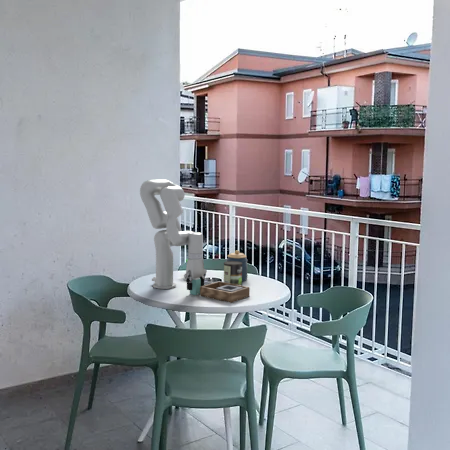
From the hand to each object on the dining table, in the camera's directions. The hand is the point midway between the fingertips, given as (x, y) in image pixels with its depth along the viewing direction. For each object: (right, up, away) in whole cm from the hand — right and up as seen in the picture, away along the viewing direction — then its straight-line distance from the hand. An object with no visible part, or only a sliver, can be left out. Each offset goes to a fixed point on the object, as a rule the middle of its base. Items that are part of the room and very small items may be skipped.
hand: (195, 288), depth 270 cm
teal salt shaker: (0, -3, +1) cm, 3 cm away
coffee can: (+20, -2, +16) cm, 25 cm away
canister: (+22, +1, +36) cm, 42 cm away
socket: (+18, -3, -5) cm, 19 cm away
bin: (+15, -4, -4) cm, 16 cm away
